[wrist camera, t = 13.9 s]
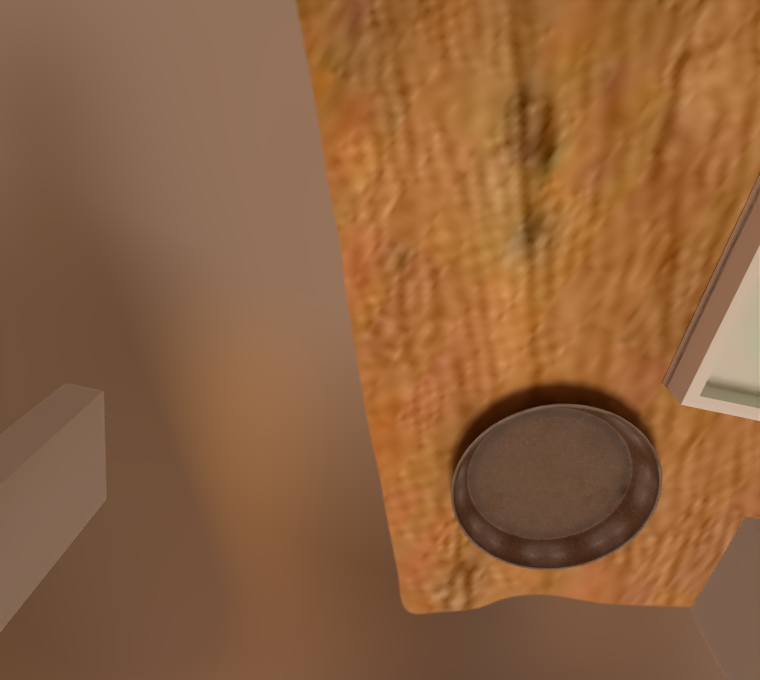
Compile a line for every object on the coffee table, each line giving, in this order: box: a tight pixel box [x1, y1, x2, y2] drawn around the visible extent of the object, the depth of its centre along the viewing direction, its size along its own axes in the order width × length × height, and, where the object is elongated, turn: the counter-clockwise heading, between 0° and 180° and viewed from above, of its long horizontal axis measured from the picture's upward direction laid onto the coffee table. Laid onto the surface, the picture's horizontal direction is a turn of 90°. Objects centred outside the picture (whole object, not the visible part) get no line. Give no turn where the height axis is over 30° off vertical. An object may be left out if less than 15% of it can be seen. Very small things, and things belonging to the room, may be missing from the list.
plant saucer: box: [451, 403, 662, 570], centre depth 47 cm, size 18×18×3 cm
